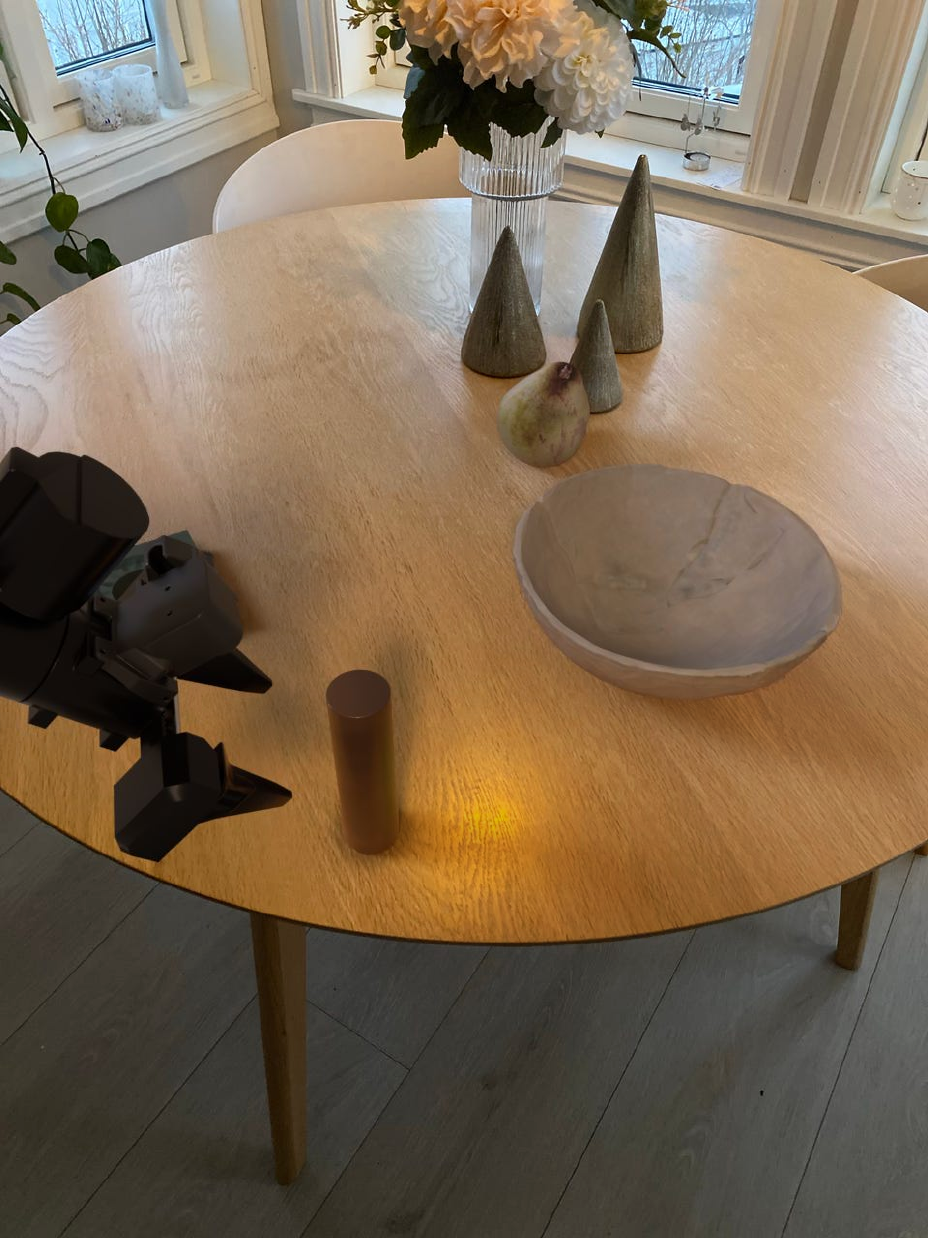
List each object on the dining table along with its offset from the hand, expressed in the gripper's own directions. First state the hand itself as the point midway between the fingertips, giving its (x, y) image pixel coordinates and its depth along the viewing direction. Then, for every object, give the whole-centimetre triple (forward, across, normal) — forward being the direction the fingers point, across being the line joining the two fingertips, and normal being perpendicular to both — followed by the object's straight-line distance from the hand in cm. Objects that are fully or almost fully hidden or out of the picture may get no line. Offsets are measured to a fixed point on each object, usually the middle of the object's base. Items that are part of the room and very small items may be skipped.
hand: (277, 740), depth 60 cm
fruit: (+32, +42, -14) cm, 55 cm away
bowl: (+32, +13, -15) cm, 38 cm away
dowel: (+12, 0, +5) cm, 13 cm away
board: (+2, +28, +15) cm, 32 cm away
